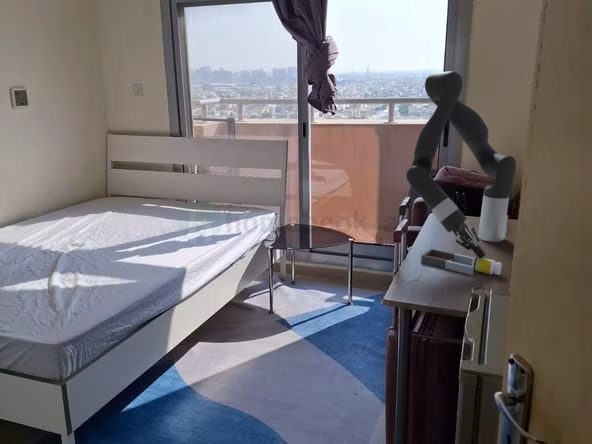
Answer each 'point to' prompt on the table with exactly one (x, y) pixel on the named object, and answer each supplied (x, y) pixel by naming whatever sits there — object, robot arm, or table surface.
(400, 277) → the table surface
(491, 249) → the table surface
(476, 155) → the robot arm
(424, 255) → the trap bin
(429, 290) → the table surface
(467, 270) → the trough
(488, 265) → the supplement bottle
